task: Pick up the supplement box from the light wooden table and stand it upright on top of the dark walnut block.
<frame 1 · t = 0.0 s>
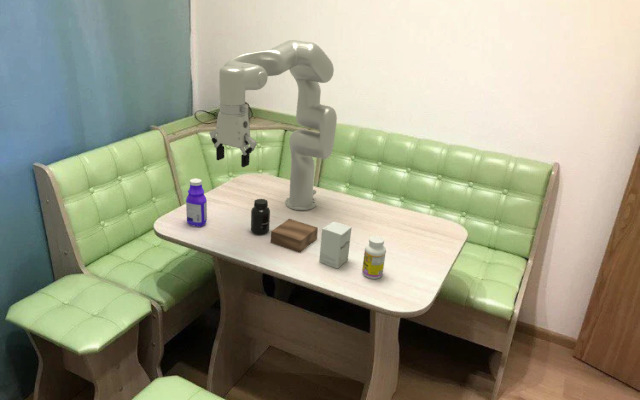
hand: (232, 162, 155), 31 cm above the table, tool pointing down, fingers open, 9 cm apart
walnut block: (294, 241, 175), on the table
supplement bottle 2: (372, 274, 159), on the table
supplement bottle: (260, 231, 180), on the table
bottle: (197, 224, 182), on the table
supplement box: (333, 261, 165), on the table
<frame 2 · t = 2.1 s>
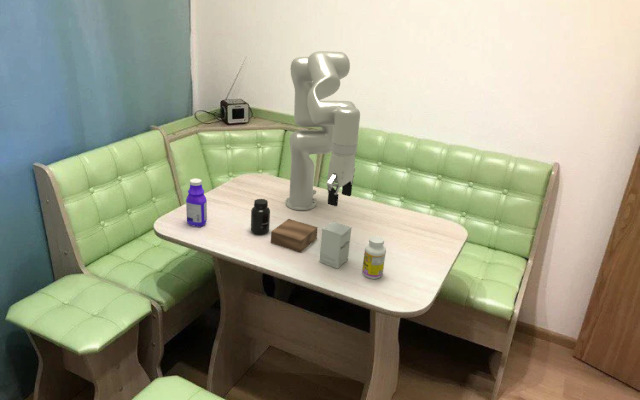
hand: (339, 200, 155), 22 cm above the table, tool pointing down, fingers open, 9 cm apart
nothing on the table moved.
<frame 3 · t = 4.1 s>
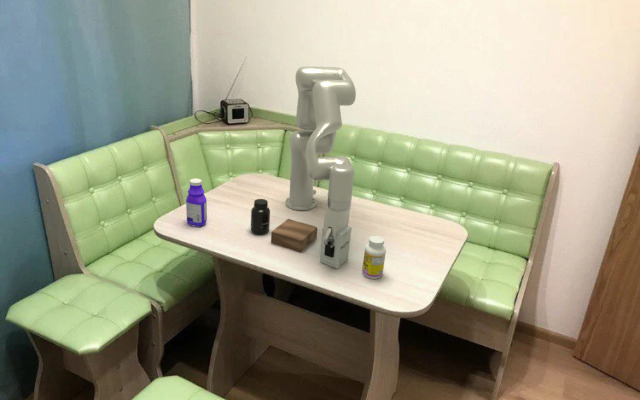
hand: (334, 250, 163), 4 cm above the table, tool pointing down, fingers closed on supplement box, 7 cm apart
supplement box: (333, 261, 165), on the table, touching gripper
everything else where it was.
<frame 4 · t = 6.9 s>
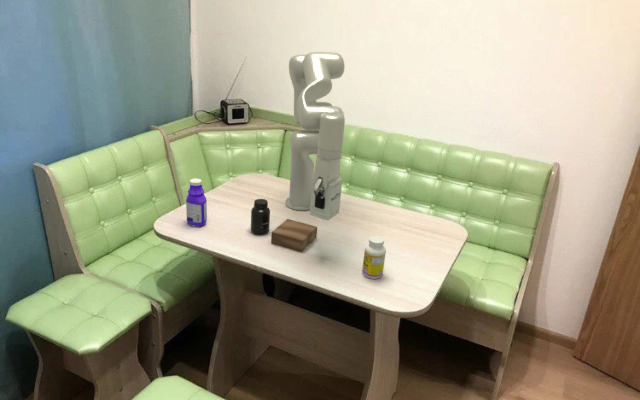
hand: (325, 203, 160), 19 cm above the table, tool pointing down, fingers closed on supplement box, 7 cm apart
supplement box: (324, 214, 162), point 15 cm above the table, touching gripper
everything else where it was.
when the fingers open (10 cm above the table, at t = 10.0 s): supplement box drops 2 cm, resting on walnut block.
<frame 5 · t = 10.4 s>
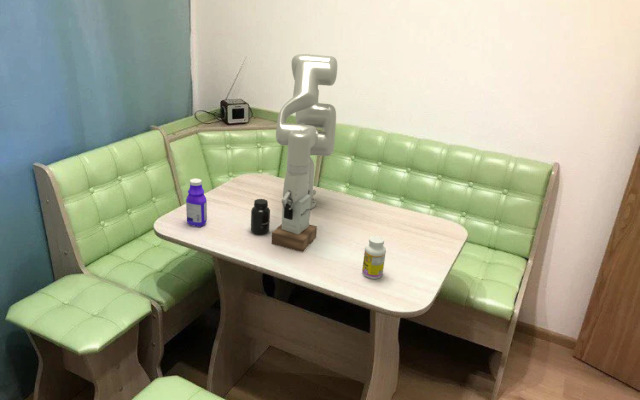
hand: (295, 213, 171), 11 cm above the table, tool pointing down, fingers open, 9 cm apart
walnut block: (294, 241, 176), on the table, touching supplement box
supplement box: (295, 228, 175), point 4 cm above the table, touching walnut block
everything else where it was.
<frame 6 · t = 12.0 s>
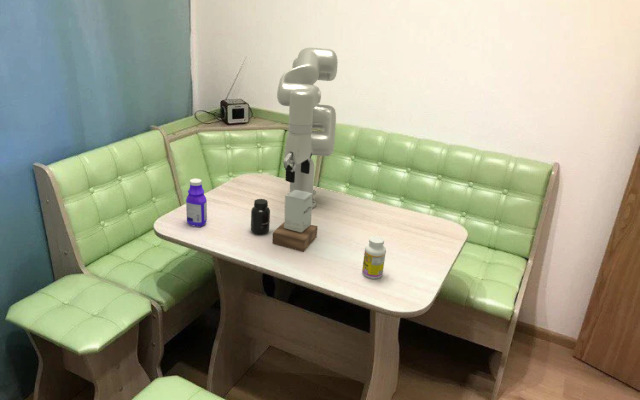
hand: (297, 177, 166), 24 cm above the table, tool pointing down, fingers open, 9 cm apart
walnut block: (294, 241, 176), on the table
supplement box: (297, 227, 175), point 4 cm above the table
everything else where it was.
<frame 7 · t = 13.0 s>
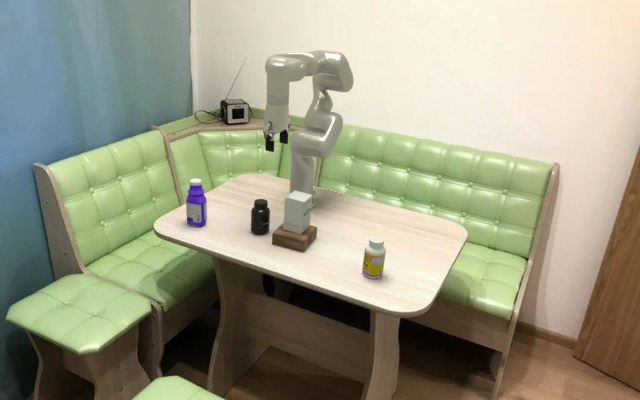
hand: (276, 147, 173), 31 cm above the table, tool pointing down, fingers open, 9 cm apart
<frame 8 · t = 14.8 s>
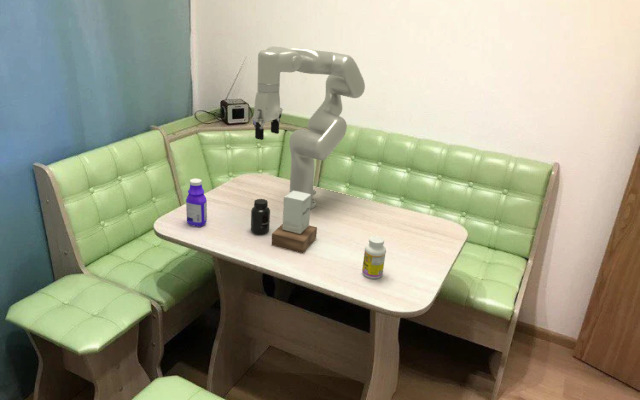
hand: (267, 135, 176), 33 cm above the table, tool pointing down, fingers open, 9 cm apart
at the end: supplement box inside the target area on the walnut block (1.4 cm from its centre), point 5.0 cm above the walnut block's base; supplement box tilted 2°; the gripper is holding nothing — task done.
